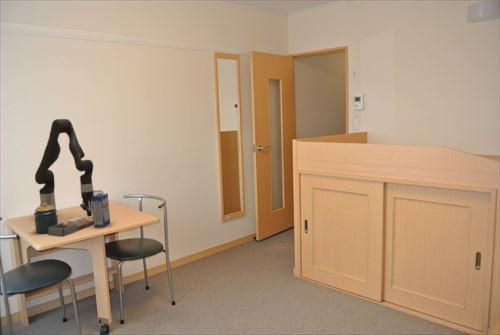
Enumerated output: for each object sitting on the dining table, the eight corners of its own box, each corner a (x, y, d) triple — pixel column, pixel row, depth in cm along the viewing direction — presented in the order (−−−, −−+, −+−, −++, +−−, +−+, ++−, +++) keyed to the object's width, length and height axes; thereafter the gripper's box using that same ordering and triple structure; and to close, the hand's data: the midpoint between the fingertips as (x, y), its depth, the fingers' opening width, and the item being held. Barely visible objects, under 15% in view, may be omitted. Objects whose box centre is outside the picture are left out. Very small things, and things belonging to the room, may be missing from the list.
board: (62, 229, 249) (62, 225, 249) (79, 223, 262) (79, 219, 262) (77, 230, 245) (77, 226, 245) (93, 224, 258) (93, 220, 258)
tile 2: (74, 223, 254) (74, 218, 253) (80, 221, 258) (80, 216, 258) (80, 223, 252) (80, 219, 252) (86, 221, 257) (86, 217, 256)
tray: (48, 234, 239) (47, 227, 239) (62, 229, 249) (62, 222, 249) (63, 236, 235) (62, 229, 234) (77, 230, 245) (76, 224, 245)
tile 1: (67, 225, 249) (67, 220, 248) (73, 223, 253) (73, 218, 253) (74, 226, 247) (73, 221, 247) (80, 223, 252) (79, 219, 251)
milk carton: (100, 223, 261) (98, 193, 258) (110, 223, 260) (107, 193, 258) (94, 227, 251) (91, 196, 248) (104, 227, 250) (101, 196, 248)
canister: (34, 235, 239) (31, 206, 237) (36, 229, 251) (33, 202, 249) (58, 231, 244) (55, 203, 242) (59, 226, 256) (56, 199, 254)
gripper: (89, 188, 267) (92, 213, 270) (74, 192, 255) (77, 218, 257) (98, 188, 265) (101, 214, 267) (84, 192, 252) (86, 219, 255)
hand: (89, 216), depth 262 cm, fingers closed
